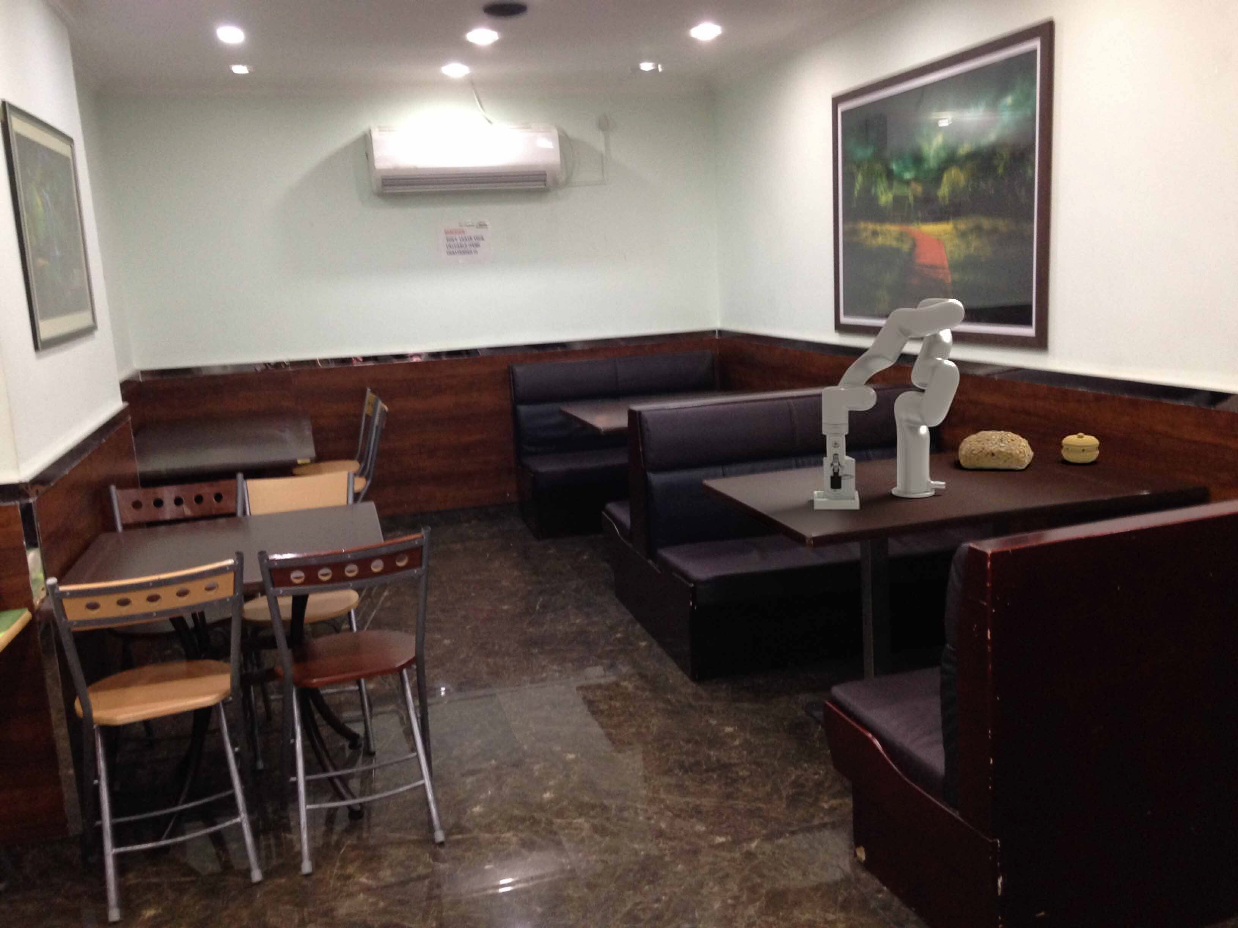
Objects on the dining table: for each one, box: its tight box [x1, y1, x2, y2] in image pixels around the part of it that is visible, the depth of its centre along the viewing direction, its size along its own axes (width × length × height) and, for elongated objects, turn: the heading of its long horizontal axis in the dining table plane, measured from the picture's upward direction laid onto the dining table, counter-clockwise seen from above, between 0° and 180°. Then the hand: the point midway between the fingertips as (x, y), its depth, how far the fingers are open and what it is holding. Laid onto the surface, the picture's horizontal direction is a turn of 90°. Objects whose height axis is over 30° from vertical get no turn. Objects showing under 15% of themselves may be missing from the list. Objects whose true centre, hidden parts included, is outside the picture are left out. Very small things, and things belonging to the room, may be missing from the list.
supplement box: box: [822, 455, 856, 500], centre depth 310 cm, size 7×7×13 cm
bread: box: [958, 429, 1035, 470], centre depth 354 cm, size 24×21×12 cm
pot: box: [1060, 432, 1100, 464], centre depth 352 cm, size 12×12×10 cm
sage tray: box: [813, 490, 860, 510], centre depth 311 cm, size 13×13×2 cm
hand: (835, 485), depth 310 cm, fingers closed on supplement box, 8 cm apart
